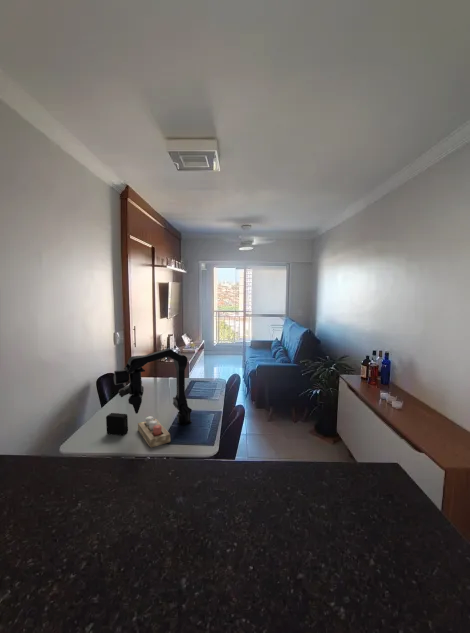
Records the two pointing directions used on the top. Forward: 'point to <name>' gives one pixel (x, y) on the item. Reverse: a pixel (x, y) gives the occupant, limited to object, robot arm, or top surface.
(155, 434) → the red plug
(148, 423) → the plug
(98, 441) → the top surface
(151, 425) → the plug
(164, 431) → the beech block
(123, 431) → the electronic device
